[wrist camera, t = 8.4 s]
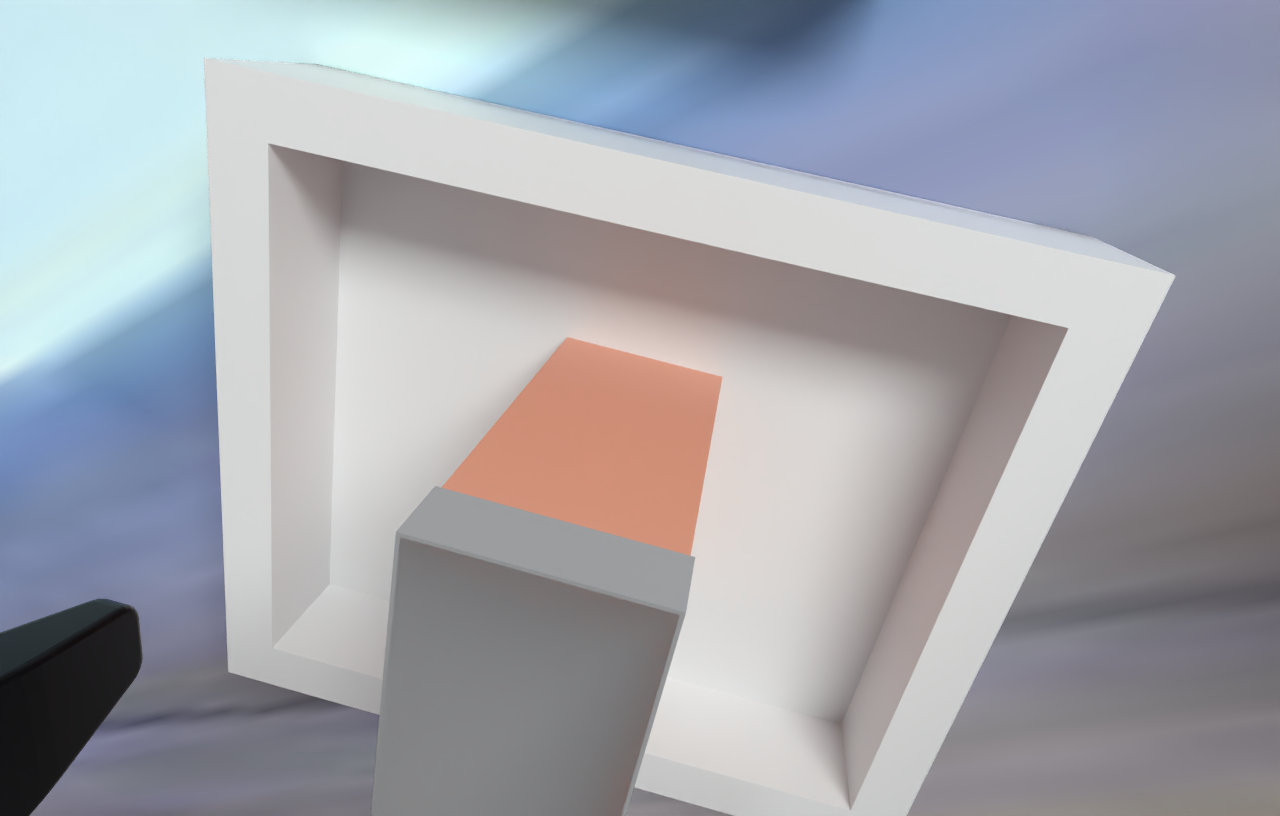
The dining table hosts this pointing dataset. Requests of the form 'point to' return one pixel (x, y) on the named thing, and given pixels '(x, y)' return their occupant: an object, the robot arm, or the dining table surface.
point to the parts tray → (670, 332)
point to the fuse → (546, 595)
